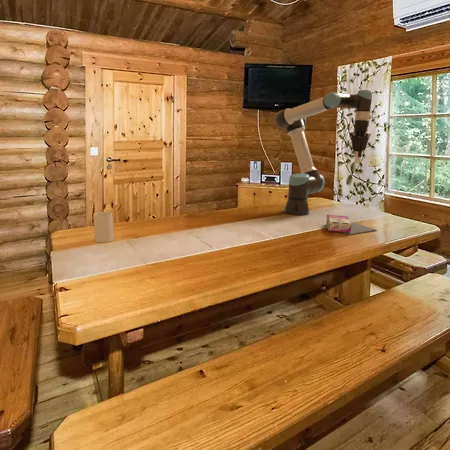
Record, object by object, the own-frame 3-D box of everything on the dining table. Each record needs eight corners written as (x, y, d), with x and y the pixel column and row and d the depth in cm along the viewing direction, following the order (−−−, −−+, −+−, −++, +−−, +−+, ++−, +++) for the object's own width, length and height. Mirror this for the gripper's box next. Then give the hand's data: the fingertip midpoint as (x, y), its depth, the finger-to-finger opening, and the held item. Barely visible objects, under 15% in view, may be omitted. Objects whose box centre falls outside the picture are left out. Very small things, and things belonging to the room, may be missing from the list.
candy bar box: (325, 223, 216) (327, 231, 201) (326, 214, 215) (328, 221, 199) (346, 225, 214) (350, 232, 199) (348, 216, 213) (351, 223, 198)
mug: (92, 236, 183) (91, 210, 180) (111, 234, 186) (110, 209, 183) (95, 243, 172) (93, 216, 169) (115, 241, 176) (114, 215, 173)
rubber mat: (326, 227, 210) (326, 226, 210) (353, 223, 220) (353, 222, 220) (348, 235, 197) (348, 233, 197) (376, 230, 206) (376, 229, 206)
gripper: (348, 119, 220) (343, 161, 226) (366, 119, 209) (361, 164, 215) (357, 119, 223) (353, 161, 230) (376, 120, 212) (370, 164, 219)
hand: (357, 163), depth 222 cm, fingers closed
